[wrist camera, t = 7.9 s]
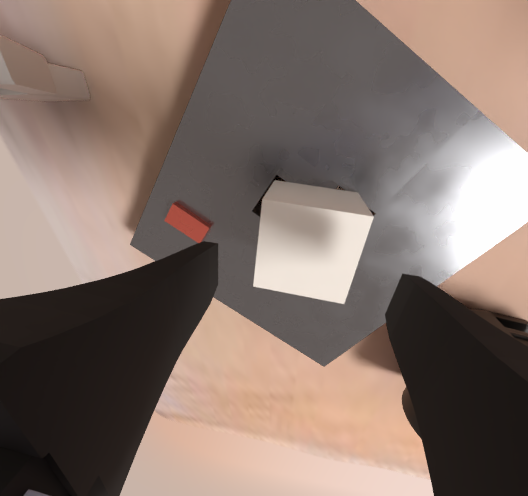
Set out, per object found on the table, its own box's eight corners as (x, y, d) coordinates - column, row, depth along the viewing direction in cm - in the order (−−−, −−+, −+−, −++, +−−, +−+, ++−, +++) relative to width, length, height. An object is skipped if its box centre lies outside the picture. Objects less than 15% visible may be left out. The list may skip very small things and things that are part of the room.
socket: (539, 183, 15) (579, 193, 13) (323, 349, 24) (324, 371, 22) (271, -52, 12) (262, -90, 10) (144, 234, 22) (125, 247, 19)
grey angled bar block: (42, 102, 18) (-132, 88, 11) (31, 73, 17) (-163, 39, 10) (129, 98, 17) (-2, 82, 10) (122, 67, 16) (-26, 25, 9)
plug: (353, 185, 17) (374, 216, 11) (335, 252, 19) (344, 304, 14) (277, 175, 17) (262, 199, 12) (269, 241, 20) (253, 286, 14)
